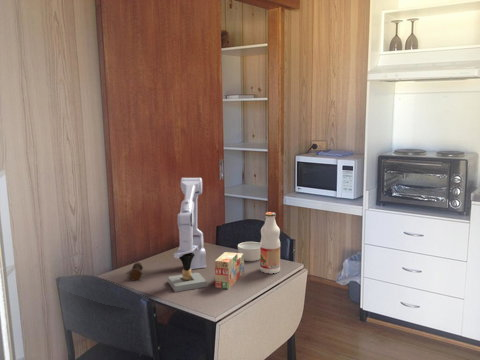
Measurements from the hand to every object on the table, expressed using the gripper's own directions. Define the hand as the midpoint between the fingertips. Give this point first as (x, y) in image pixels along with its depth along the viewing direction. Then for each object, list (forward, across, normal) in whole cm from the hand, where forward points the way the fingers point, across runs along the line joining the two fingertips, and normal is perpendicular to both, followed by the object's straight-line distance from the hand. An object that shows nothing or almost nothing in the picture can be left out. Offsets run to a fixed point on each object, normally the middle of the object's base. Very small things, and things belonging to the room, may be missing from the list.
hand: (186, 269), depth 189 cm
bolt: (+7, +2, -28) cm, 29 cm away
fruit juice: (+7, -33, +24) cm, 42 cm away
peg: (+7, 0, 0) cm, 7 cm away
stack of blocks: (+7, -14, +13) cm, 21 cm away
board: (+7, 0, 0) cm, 7 cm away
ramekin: (+7, -45, +6) cm, 46 cm away
